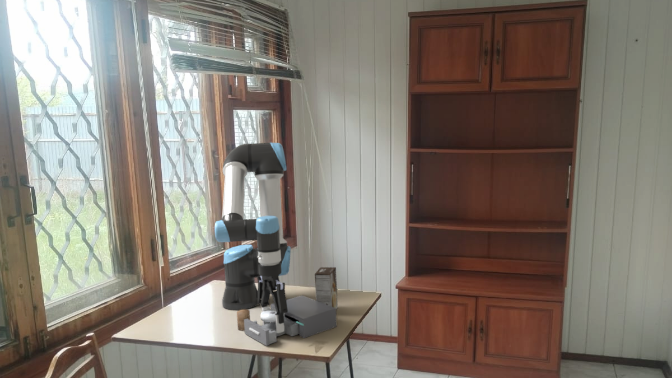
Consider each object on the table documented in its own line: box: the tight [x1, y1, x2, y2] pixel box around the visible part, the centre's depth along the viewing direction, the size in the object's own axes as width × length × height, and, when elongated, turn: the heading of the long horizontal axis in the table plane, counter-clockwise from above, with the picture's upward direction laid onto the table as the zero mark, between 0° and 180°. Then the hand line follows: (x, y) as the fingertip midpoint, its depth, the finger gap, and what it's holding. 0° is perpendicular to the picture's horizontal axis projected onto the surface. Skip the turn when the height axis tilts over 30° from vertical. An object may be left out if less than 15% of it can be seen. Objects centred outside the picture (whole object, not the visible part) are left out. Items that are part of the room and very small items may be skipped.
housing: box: [270, 294, 337, 339], centre depth 174 cm, size 20×14×7 cm
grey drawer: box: [244, 317, 299, 347], centre depth 166 cm, size 14×14×5 cm
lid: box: [260, 308, 285, 322], centre depth 166 cm, size 8×8×2 cm
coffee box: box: [314, 266, 339, 310], centre depth 186 cm, size 9×6×16 cm
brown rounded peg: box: [236, 309, 251, 332], centre depth 173 cm, size 4×4×6 cm
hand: (273, 328), depth 167 cm, fingers closed on lid, 8 cm apart
